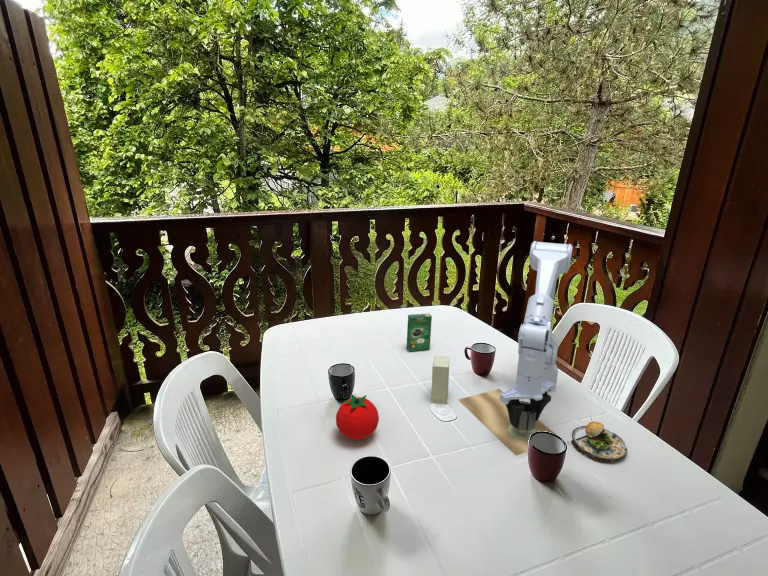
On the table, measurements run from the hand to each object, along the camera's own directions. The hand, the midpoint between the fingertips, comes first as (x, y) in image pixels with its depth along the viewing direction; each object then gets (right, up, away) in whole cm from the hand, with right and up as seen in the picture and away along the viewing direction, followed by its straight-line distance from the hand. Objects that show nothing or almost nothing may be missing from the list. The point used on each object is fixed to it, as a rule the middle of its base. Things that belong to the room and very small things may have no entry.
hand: (523, 421), depth 100 cm
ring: (0, -1, 0) cm, 1 cm away
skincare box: (-18, +1, +16) cm, 24 cm away
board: (-2, -2, +6) cm, 7 cm away
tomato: (-40, -4, +1) cm, 41 cm away
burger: (+17, -5, -2) cm, 18 cm away
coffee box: (-22, +11, +45) cm, 51 cm away
